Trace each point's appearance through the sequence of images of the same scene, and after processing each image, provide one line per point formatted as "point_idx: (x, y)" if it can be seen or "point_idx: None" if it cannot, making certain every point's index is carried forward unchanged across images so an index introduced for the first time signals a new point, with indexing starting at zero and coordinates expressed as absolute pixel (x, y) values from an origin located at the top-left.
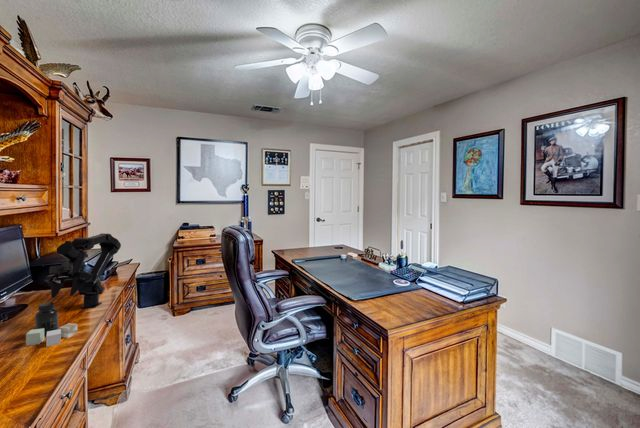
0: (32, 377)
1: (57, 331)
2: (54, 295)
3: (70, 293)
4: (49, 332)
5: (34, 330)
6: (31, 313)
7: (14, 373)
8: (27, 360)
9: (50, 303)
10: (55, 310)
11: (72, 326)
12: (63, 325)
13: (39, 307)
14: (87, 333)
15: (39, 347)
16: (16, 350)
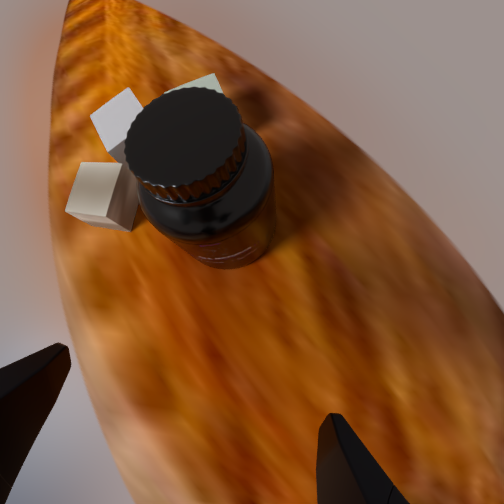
0: (104, 23)
1: (108, 127)
2: (325, 447)
3: (48, 351)
4: (135, 114)
5: None
6: (490, 454)
7: (146, 18)
8: (151, 50)
9: (153, 152)
10: (138, 183)
11: (74, 184)
12: (113, 187)
13: (207, 92)
14: (58, 225)
15: None
16: (232, 80)
